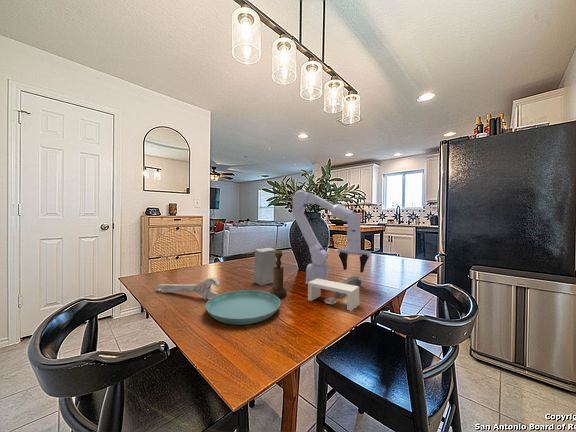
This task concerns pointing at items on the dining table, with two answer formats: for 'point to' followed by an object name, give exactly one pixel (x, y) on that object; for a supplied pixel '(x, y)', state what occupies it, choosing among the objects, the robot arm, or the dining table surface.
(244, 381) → the dining table surface
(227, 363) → the dining table surface
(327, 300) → the steel disc
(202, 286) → the wrench
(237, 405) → the dining table surface
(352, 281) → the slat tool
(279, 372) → the dining table surface
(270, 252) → the skincare box
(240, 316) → the saucer
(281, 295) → the pepper mill
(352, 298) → the low bench
